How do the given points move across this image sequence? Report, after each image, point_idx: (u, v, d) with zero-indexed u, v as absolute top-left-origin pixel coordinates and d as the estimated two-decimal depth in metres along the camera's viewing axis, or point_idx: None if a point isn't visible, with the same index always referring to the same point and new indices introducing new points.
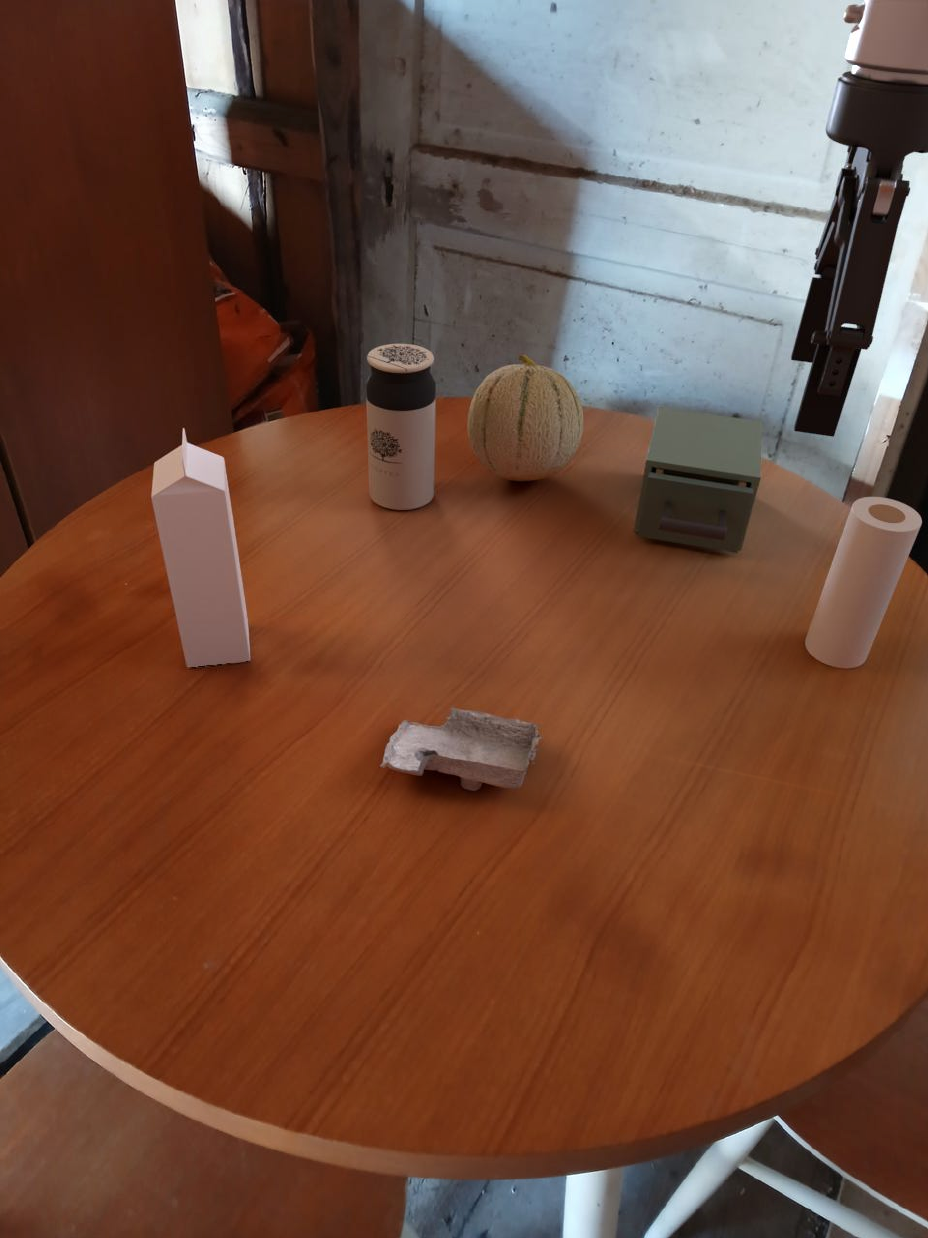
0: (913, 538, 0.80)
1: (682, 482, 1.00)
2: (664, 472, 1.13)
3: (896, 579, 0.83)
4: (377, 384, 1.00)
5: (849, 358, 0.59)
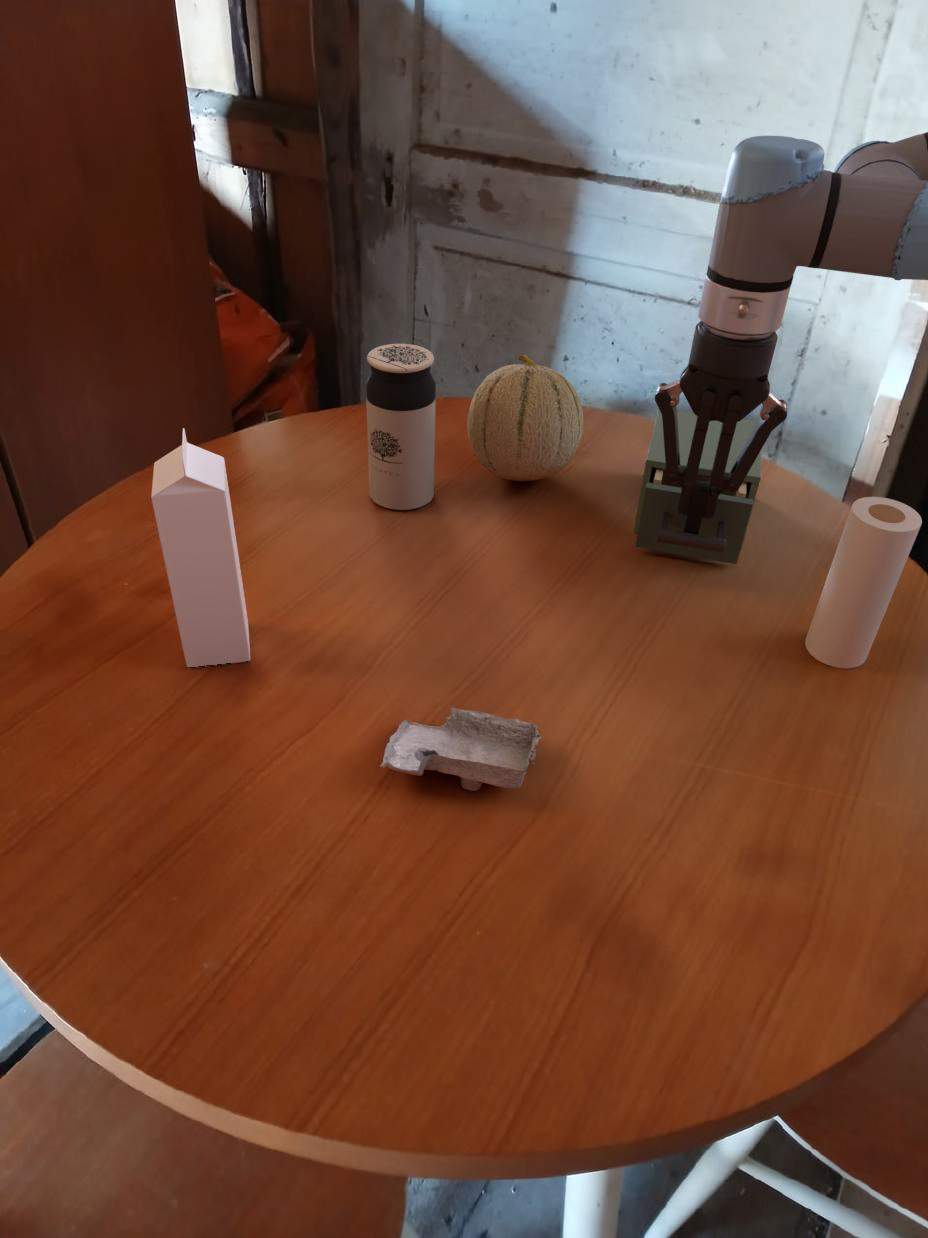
0: (913, 538, 0.80)
1: (680, 493, 0.98)
2: (662, 481, 1.11)
3: (896, 579, 0.83)
4: (377, 384, 1.00)
5: None
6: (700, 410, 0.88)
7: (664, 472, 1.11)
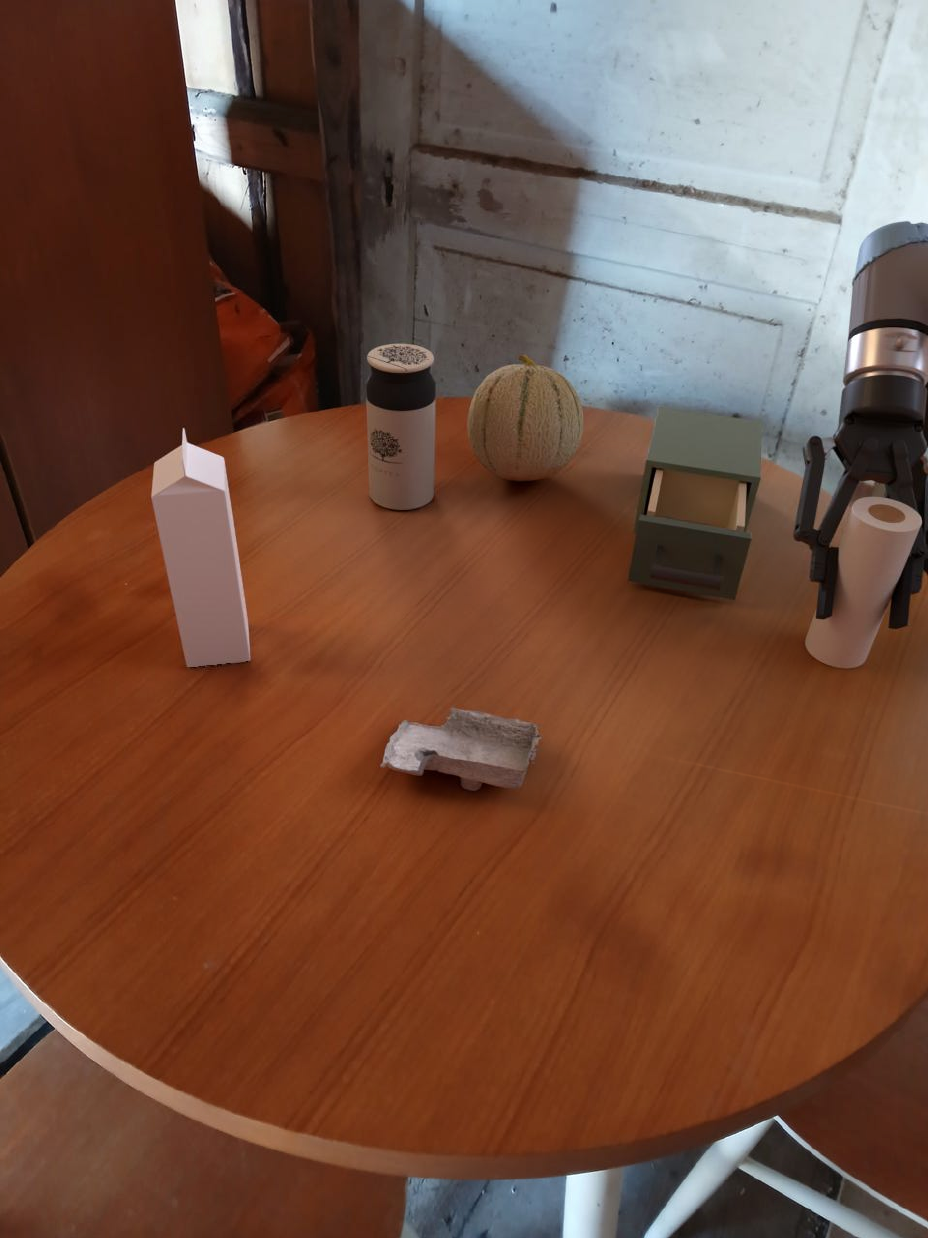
0: (913, 538, 0.80)
1: (675, 526, 0.92)
2: (657, 509, 1.06)
3: (896, 579, 0.83)
4: (377, 384, 1.00)
5: None
6: (858, 456, 0.85)
7: (659, 500, 1.05)
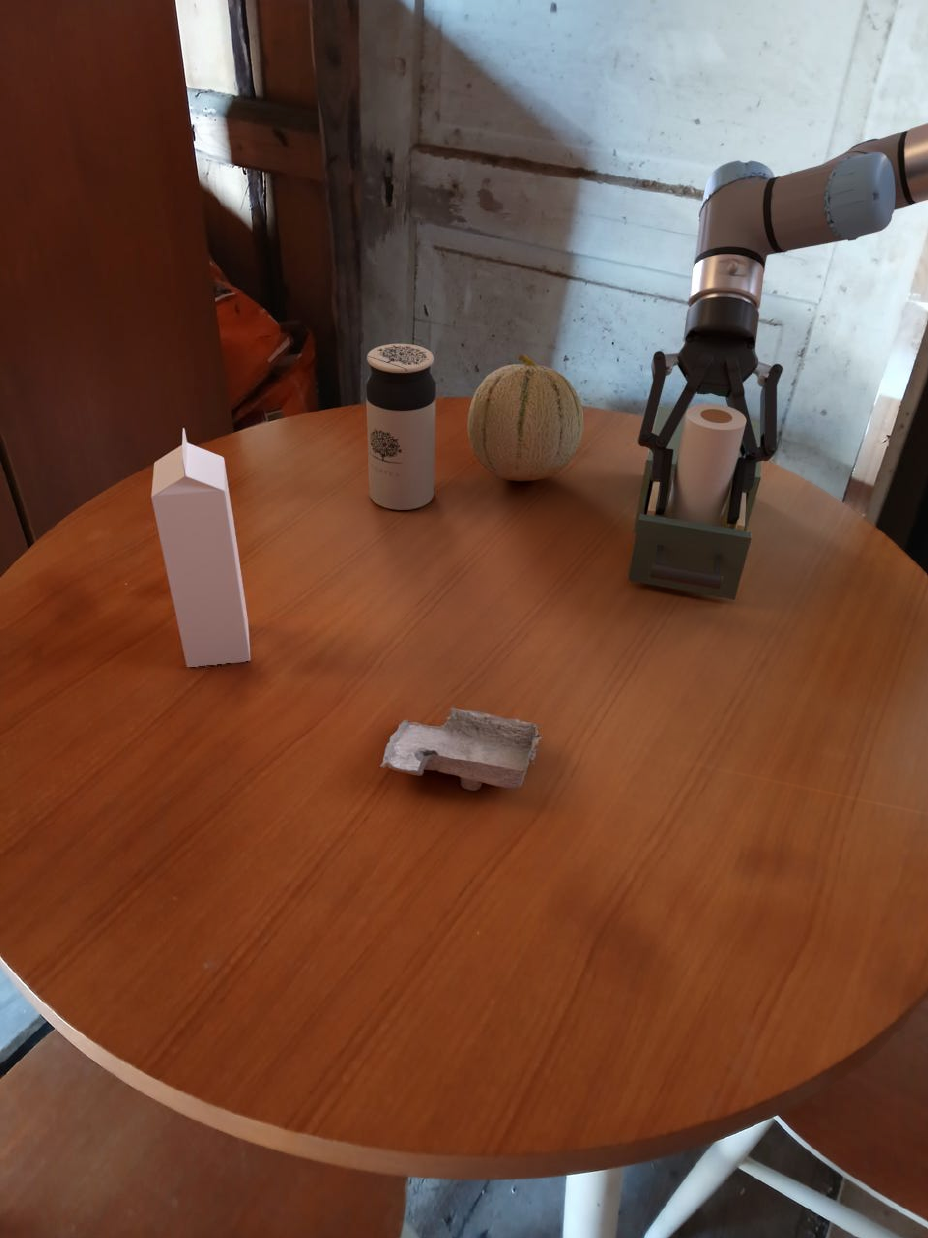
0: (738, 437, 0.90)
1: (675, 525, 0.93)
2: None
3: (728, 476, 0.93)
4: (377, 384, 1.00)
5: None
6: (695, 369, 0.95)
7: None
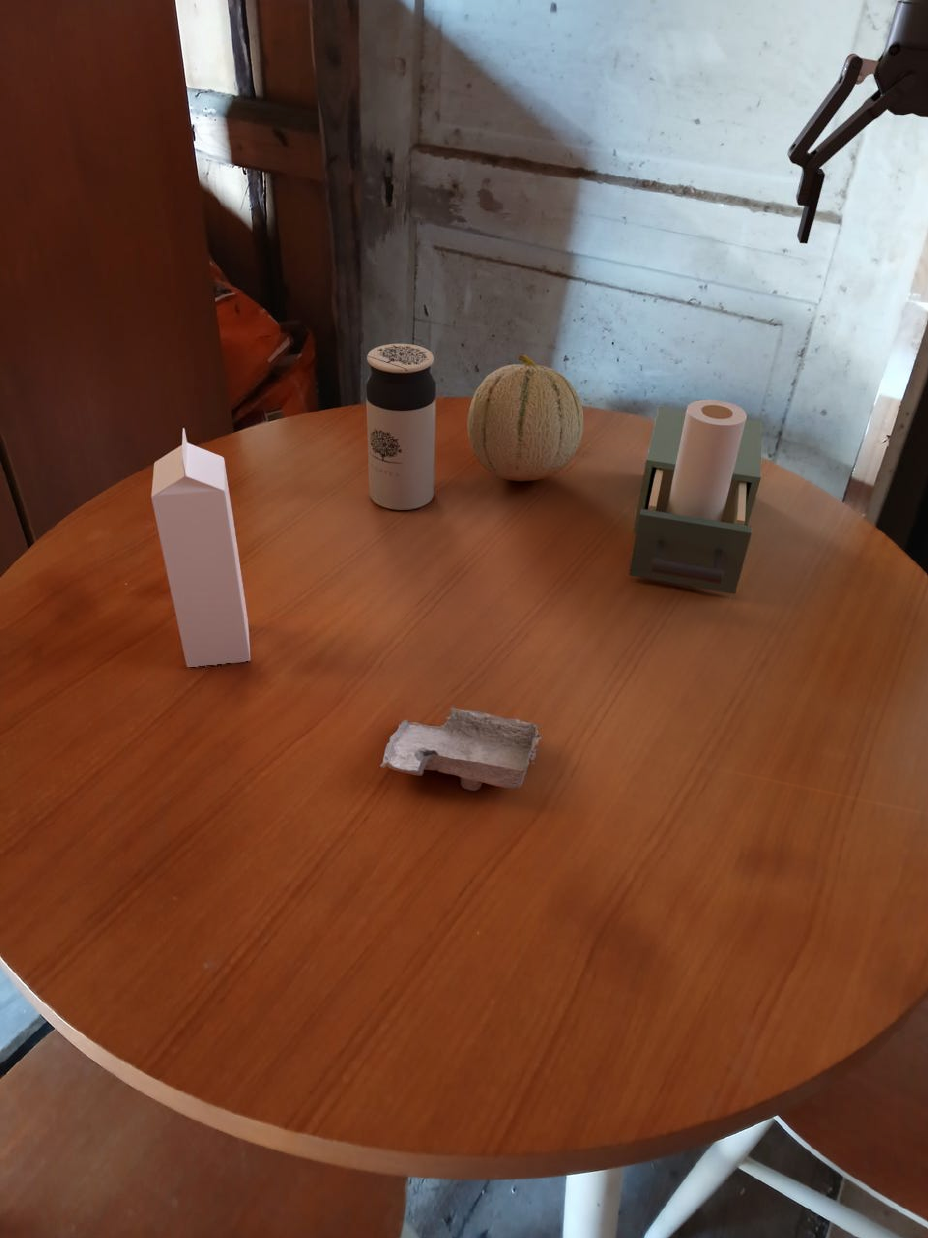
0: (738, 432, 0.91)
1: (676, 520, 0.93)
2: (658, 505, 1.07)
3: (728, 471, 0.94)
4: (377, 384, 1.00)
5: None
6: (890, 91, 0.83)
7: (659, 495, 1.06)
